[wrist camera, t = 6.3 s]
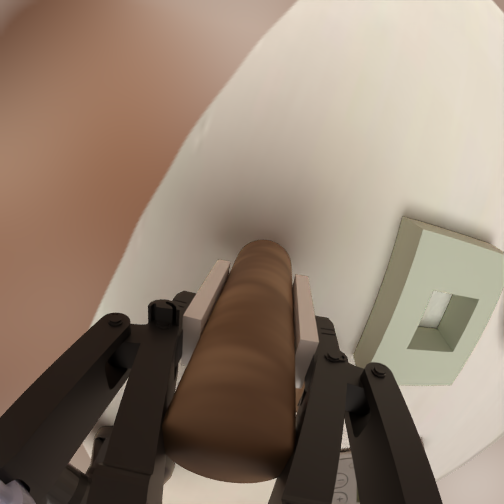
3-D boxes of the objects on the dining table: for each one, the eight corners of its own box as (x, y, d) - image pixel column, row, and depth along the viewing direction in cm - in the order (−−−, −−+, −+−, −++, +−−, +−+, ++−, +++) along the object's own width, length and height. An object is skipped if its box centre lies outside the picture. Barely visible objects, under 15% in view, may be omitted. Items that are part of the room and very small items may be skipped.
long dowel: (232, 285, 21) (161, 465, 7) (240, 234, 20) (151, 398, 6) (284, 296, 21) (277, 489, 7) (296, 245, 20) (314, 431, 6)
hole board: (353, 355, 25) (360, 383, 22) (402, 216, 21) (423, 229, 17) (438, 361, 25) (451, 385, 21) (490, 244, 20) (514, 258, 16)
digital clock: (427, 435, 30) (443, 489, 20) (400, 464, 33) (409, 512, 23) (329, 439, 31) (333, 506, 21) (311, 467, 34) (310, 523, 24)
